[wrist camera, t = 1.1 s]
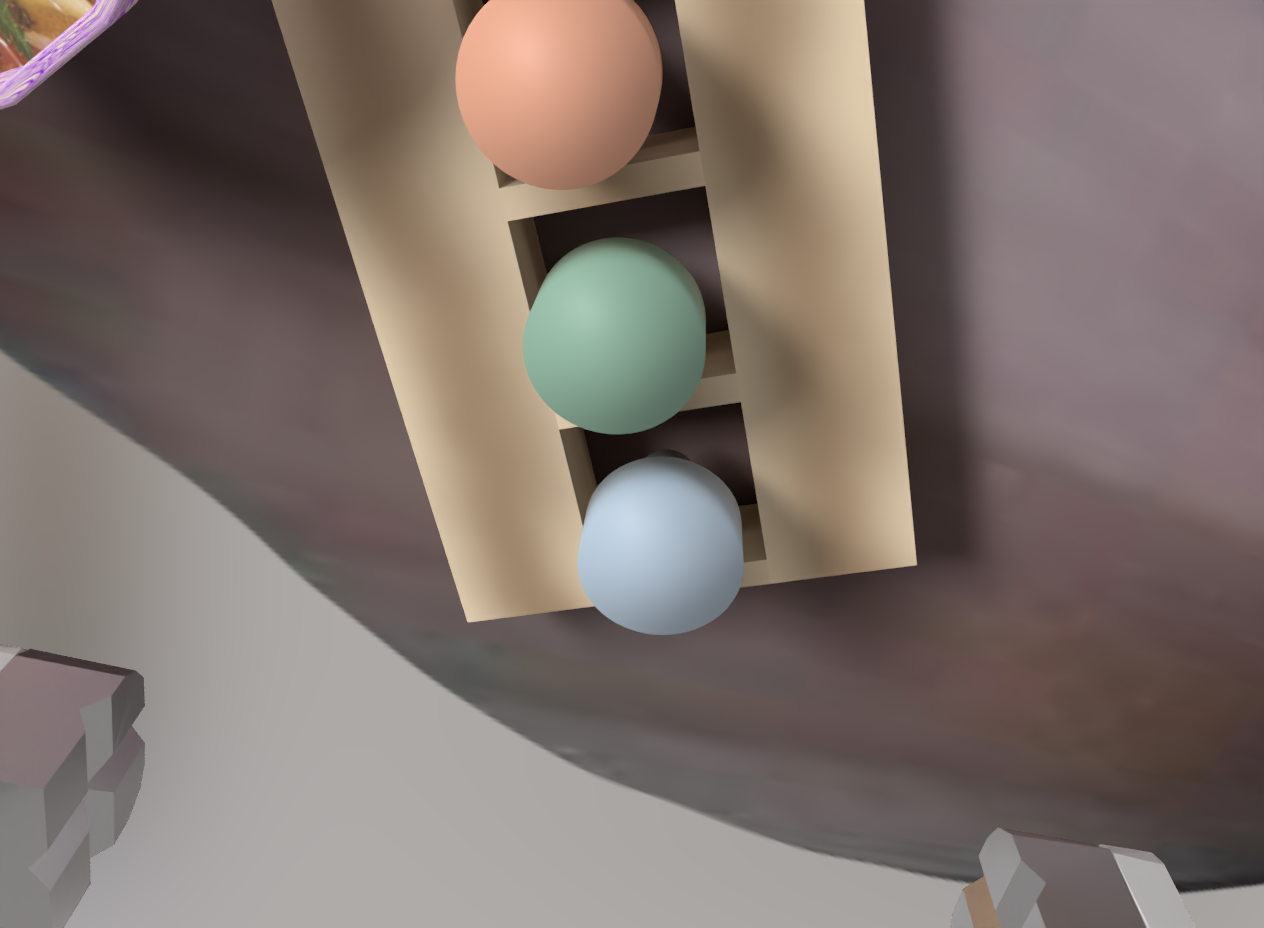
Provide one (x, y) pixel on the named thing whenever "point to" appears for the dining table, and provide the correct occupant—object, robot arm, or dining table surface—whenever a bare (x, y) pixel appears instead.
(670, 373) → the button green
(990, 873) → the robot arm
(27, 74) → the bowl of food
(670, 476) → the button slate
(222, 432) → the dining table surface
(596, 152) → the button terracotta
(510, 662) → the dining table surface
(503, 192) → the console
